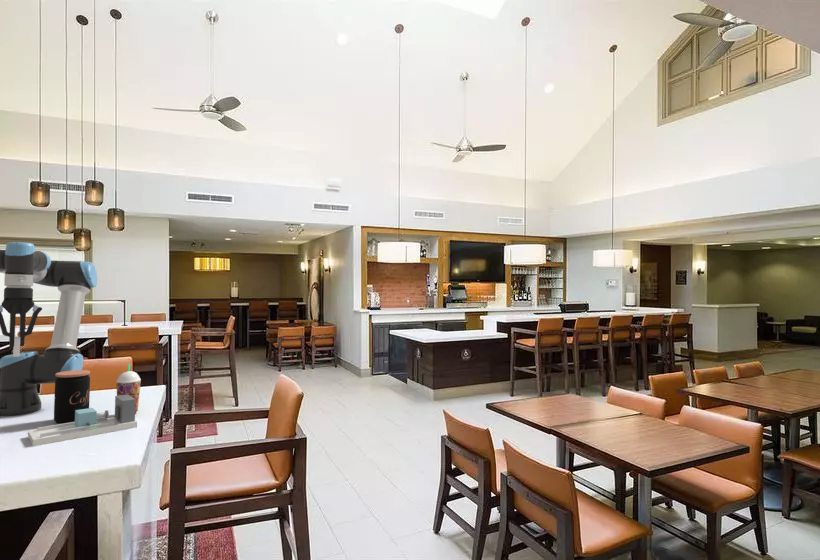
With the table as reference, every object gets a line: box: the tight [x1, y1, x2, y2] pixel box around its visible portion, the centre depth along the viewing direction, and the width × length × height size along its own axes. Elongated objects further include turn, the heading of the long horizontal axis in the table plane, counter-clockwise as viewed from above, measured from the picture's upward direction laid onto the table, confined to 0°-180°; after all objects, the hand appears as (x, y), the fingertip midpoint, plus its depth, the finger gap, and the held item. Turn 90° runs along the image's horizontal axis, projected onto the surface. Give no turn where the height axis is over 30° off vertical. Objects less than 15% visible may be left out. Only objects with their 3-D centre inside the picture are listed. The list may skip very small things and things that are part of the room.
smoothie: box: [115, 363, 142, 415], centre depth 178 cm, size 8×8×20 cm
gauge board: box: [27, 394, 138, 447], centre depth 156 cm, size 12×29×10 cm, turn 136°
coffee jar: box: [53, 369, 91, 424], centre depth 170 cm, size 11×11×18 cm
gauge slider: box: [75, 407, 110, 427], centre depth 157 cm, size 9×9×5 cm
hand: (16, 355), depth 154 cm, fingers closed
